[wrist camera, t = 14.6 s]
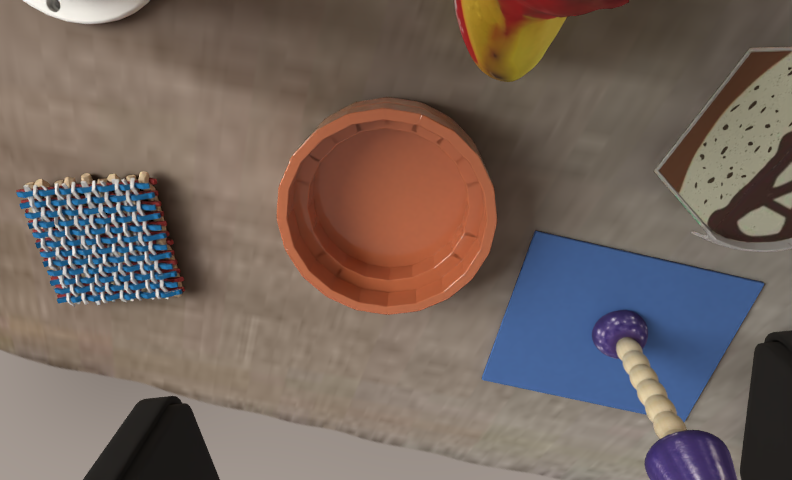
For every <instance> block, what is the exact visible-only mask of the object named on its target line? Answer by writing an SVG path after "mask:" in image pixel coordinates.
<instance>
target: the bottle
mask: <svg viewBox="0 0 792 480" xmlns="http://www.w3.org/2000/svg"><path fill="white" fill-rule="evenodd" d="M628 2H629V0H454V5H455V11H456V16H457V20H458V24H459V28H460V31H461V34H462V37H463V40H464V42H465V44H466V47H467V49H468V51H469V53H470V55H471V57H472V59H473V60H474V62H475V63H476V65H477V66H478V67H479V68H480V69H481V70H482V71H483V72H484V73H485V74H486V75H488V76H489V77H491V78H494V79H497V80H500V81H504V82H512V81H515V80H518V79H519V78H521V77H522V76H524V75H525V74H526V73H528V72H529V71H530V70H531V69H533V68H534V67H535V66H536V65H537V64H538V63H539V61H540V60H541V58H542V57H543V55H544V54H545V52H546V50H547V49H548V47H549V46H550V44H551V43H552V41H553V40H554V38H555V36H556V35H557V33H558V32H559V30H560V28H561V26H562V25H563V23H564V21H565V20H566V18H567V17H569V16H578V15H583V14H586V13H589V12H592V11H595V10H598V9H613V8H616V7H620V6H623V5H625V4H626V3H628Z"/></svg>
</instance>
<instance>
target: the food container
mask: <svg viewBox="0 0 792 480" xmlns="http://www.w3.org/2000/svg"><path fill="white" fill-rule="evenodd" d="M654 172H655V173H656V174H657V176H658V177H659V178H660V179H661V180H662V181H663V183H664V184H665V185H666V186H667V187H668V188H669V190H670V191H671V192H672V193H673V194H674V195H675V197H676V198H677V199H678V200H679V201H680V202H681V204H682V205H683V206H684V207H685V208H686V209H687V211H688V212H689V213H690V214H691V215H692V216H693V218H694V219H695V220H696V221H697V222H698V223H699V224H700V226H701V227H702V228H703V229H704V230H705V231H706V233H707V235H706V236H705V235H703V234H700V233H697V232H695V231H692V232H691V233H692V234H694V235H696V236H698V237H701V238H703V239H705V240H708V241H710V242H713V243H715V244H718V245H721V246H724V247H728V248H732V249H736V250H745V251H757V252H768V251H781V250H787V249H792V47H761V48H750V49H749V50H748V51H747V52H746V54H745V55H744V56H743V58H742V59H741V60H740V61H739V63H738V64H737V65H736V67H735V68H734V69H733V70H732V72H731V73H730V74H729V76H728V77H727V78H726V79H725V81H724V82H723V83H722V84H721V86H720V87H719V88H718V90H717V91H716V92H715V93H714V95H713V96H712V97H711V99H710V100H709V101H708V102H707V104H706V105H705V106H704V108H703V109H702V110H701V111H700V113H699V114H698V115H697V117H696V118H695V119H694V120H693V122H692V123H691V124H690V125H689V127H688V128H687V129H686V131H685V132H684V133H683V134H682V136H681V137H680V138H679V140H678V141H677V142H676V143H675V145H674V146H673V147H672V149H671V150H670V151H669V152H668V154H667V155H666V156H665V158H664V159H663V160H662V161H661V163H660V164H659V165H658V167H657V168H656V169H655V170H654Z"/></svg>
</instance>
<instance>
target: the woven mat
mask: <svg viewBox="0 0 792 480" xmlns="http://www.w3.org/2000/svg"><path fill="white" fill-rule="evenodd" d="M81 179H82V181H81V184H77V183H75V178H71V177H67V178H65V181H64V180H60V181H56V182H55V184H54V185H55V187H51V186H50V185H49V183H47V182H46V181H44V180H43V179H39V180H37V181H36V182H31V183H27V184H26V185H25V186H23V187H24V189H20V190H17V192H16V193H17V195H18V197H23V198H26V197H28V199H27V200H22V201H21V203H20V204H19V205H20V207H21V209H23V208H29V209H26V210H25V212H26V213H25V216H26V218H31V219H34V220H30V221H28V222H29V223H27V224H28V226H29V229H31V228H35V229H36V230H33V232H34V233H32V234H33V236H34V237H35V238H41V239H37V240H36V242H37V243H35V244H36V247H37V248H40V247H42V248H43V249H41V250H40V254H41V256H42V257H46V258H44V262H43V265H44V267H46V266H49V267H50V268H51V270H48V271H47V272H48V275H51V276H52V277H51V281H50V284H51V286H53V285H55V286H56V288H55V289H54V290H55V292H56V293H58V295H57V297H58V298H57V301H58V303H63V302H69V304H71V305H72V306H74V307H75V304H74V303H76V302H77V304H80V301H83V302H84V303H85V304H88V303H89V302H88V300H89V301H93V302H95V303H97V305H100V304H101V302H100V300H102V301H103V302H104V303H108V302H107V301H112V302H115V299H118V298H120V299H121V301H124V302H127V301H126V299H127V300H130V299H131V301H134V298H138V299H139V300H142V299H141V298H140V297H142V298H146V299H149V298H151V299H154V297H157V298H159V299H161V297H162V298H166V299H169V297H171V296H176V297H180V296H182V293H183V292H184V291H185V288H184V287H182V283H181V282H182V281H184V278H183V277H180V275H179V273H180V272H181V271H180V268H177V264H178V263H177V260H175V256H174V254H175V253H174V250H172V248H171V247H170V246H169V245H172V244H174V242H173V240H172V239H169V238H167V236H169V231H167V230H166V226H167V222H166V221H165V220H164V217H163V216H164V212H163V211H162V210H161V207H160V206H161V205H162V204H161V201H159V200H158V197H157V196H158V195H159V194H158V190H155V187H154V186H152V185H151V184H153V185H155V184H157V180H156V179H153V178H149V174H148V172H143V171H141V172H140V173H139V179H138V180H137V179H136V175H129V176H127V177H126V179H127V181H126V180H125V179H123V180H121V179H120V178H119V177H118V176H117V175H116V174H109V176H108V178H106V179H98V184H96V181H95V180H94V181H93V180H92V177H91V175H90V174H87V173H85V174H83V175H81ZM107 180H108V181H109V182H110V183H107ZM139 189H143V190H144V191H139ZM113 190H115V193H113V192H109V191H113ZM81 193H84V194H85V195H82V194H81ZM55 194H56V195H57V198H56V196H55ZM40 196H44V198H42V199H41V198H40ZM143 199H148V200H149V201H143ZM113 202H117V204H114V203H113ZM86 203H88V206H87V204H86ZM73 204H74V205H76V207H75V206H74V205H73ZM45 206H48V208H47V207H45ZM145 210H149V211H150V210H151V211H152V212H145ZM105 212H106V213H108V215H106V213H105ZM118 213H119V214H118ZM78 215H79V216H78ZM47 216H48V217H52V218H48V217H47ZM153 219H154V221H153V222H149V220H153ZM138 221H139V222H138ZM110 223H111V224H110ZM122 223H123V224H122ZM54 226H55V228H53V227H54ZM39 227H41V228H42V229H40V228H39ZM152 230H154V231H155V232H152ZM110 232H112V233H114V234H112V233H110ZM71 235H72V236H73V237H72V236H71ZM85 235H86V236H85ZM126 242H128V243H126ZM102 243H103V244H102ZM116 243H117V244H116ZM47 246H48V247H49V248H48V247H47ZM157 250H161V251H157ZM78 254H79V255H80V256H79V255H78ZM62 255H63V256H65V257H62ZM164 258H165V259H166V260H163V259H164ZM133 261H134V262H133ZM108 262H109V263H108ZM69 265H70V266H69ZM123 270H124V271H123ZM136 270H139V271H136ZM169 277H171V278H169ZM129 288H130V289H129Z"/></svg>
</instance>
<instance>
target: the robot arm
mask: <svg viewBox="0 0 792 480" xmlns="http://www.w3.org/2000/svg"><path fill="white" fill-rule="evenodd" d="M23 1H25V2H26V3H27V4H29V5H30V6H32V7H34V8H36V9H37V10H39V11H41V12H43V13H45V14H47V15H49V16H52V17H55V18H58V19H61V20H64V21H67V22H74V23H81V24H99V23H107V22H112V21H117V20H120V19H123V18H125V17H127V16H130V15H132V14H134V13H136V12H137V11H138V10H139V9H141V8H142V7H143V6H145V5H146V4H147V3H148V2H149V1H150V0H23ZM59 3H60V6H59ZM740 475H741V480H792V331H783V332H773V333H770V334H768V336H767V337H766V338H765V342H764V343H761V344H758V345H757V346H756V348H755V352H754V359H753V367H752V376H751V384H750V392H749V400H748V408H747V416H746V424H745V433H744V441H743V449H742V457H741V465H740ZM83 480H220V479H219V477H218V474H217V472H216V469H215V467H214V464H213V462H212V459H211V457H210V454H209V452H208V449H207V447H206V444H205V442H204V439H203V437H202V434H201V432H200V429H199V427H198V424H197V422H196V419H195V417H194V414H193V412H192V409H191V408H190V406H189V405H188V404H182V402H181V400H180V399H179V398H178V397H175V396H168V397H159V398H150V399H144V400H141V401H139V402H138V403H137V404H136V405H135V407H134V408H133V410H132V411H131V413H130V414H129V415H128V417H127V418H126V420H125V421H124V422H123V424H122V425H121V427H120V428H119V429H118V431H117V432H116V434H115V435H114V436H113V438H112V439H111V441H110V442H109V444H108V445H107V447H106V448H105V449H104V451H103V452H102V453H101V455H100V456H99V458H98V459H97V461H96V462H95V463H94V465H93V466H92V468H91V469H90V470H89V472H88V473H87V475H86V476H85V477H84V479H83Z"/></svg>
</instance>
